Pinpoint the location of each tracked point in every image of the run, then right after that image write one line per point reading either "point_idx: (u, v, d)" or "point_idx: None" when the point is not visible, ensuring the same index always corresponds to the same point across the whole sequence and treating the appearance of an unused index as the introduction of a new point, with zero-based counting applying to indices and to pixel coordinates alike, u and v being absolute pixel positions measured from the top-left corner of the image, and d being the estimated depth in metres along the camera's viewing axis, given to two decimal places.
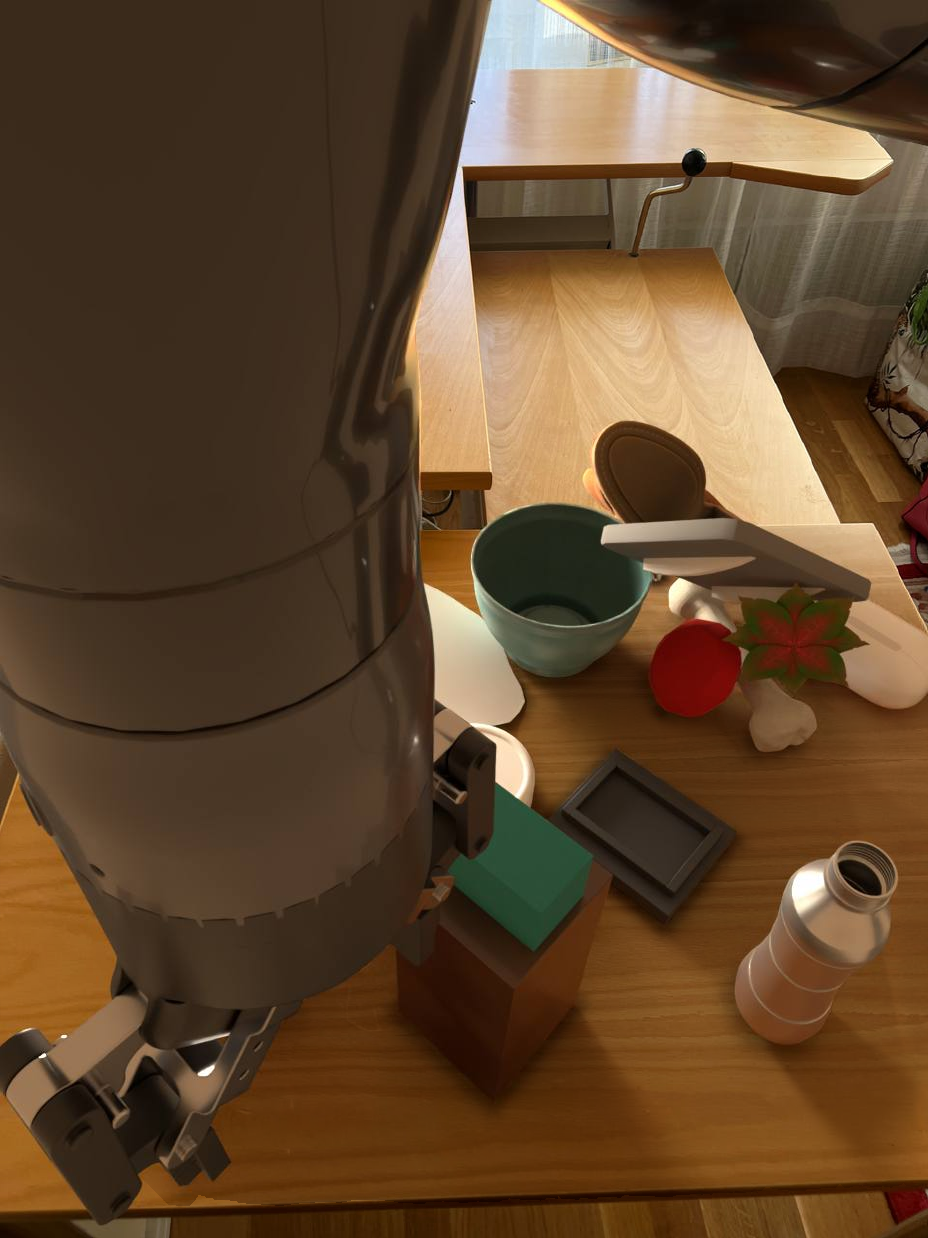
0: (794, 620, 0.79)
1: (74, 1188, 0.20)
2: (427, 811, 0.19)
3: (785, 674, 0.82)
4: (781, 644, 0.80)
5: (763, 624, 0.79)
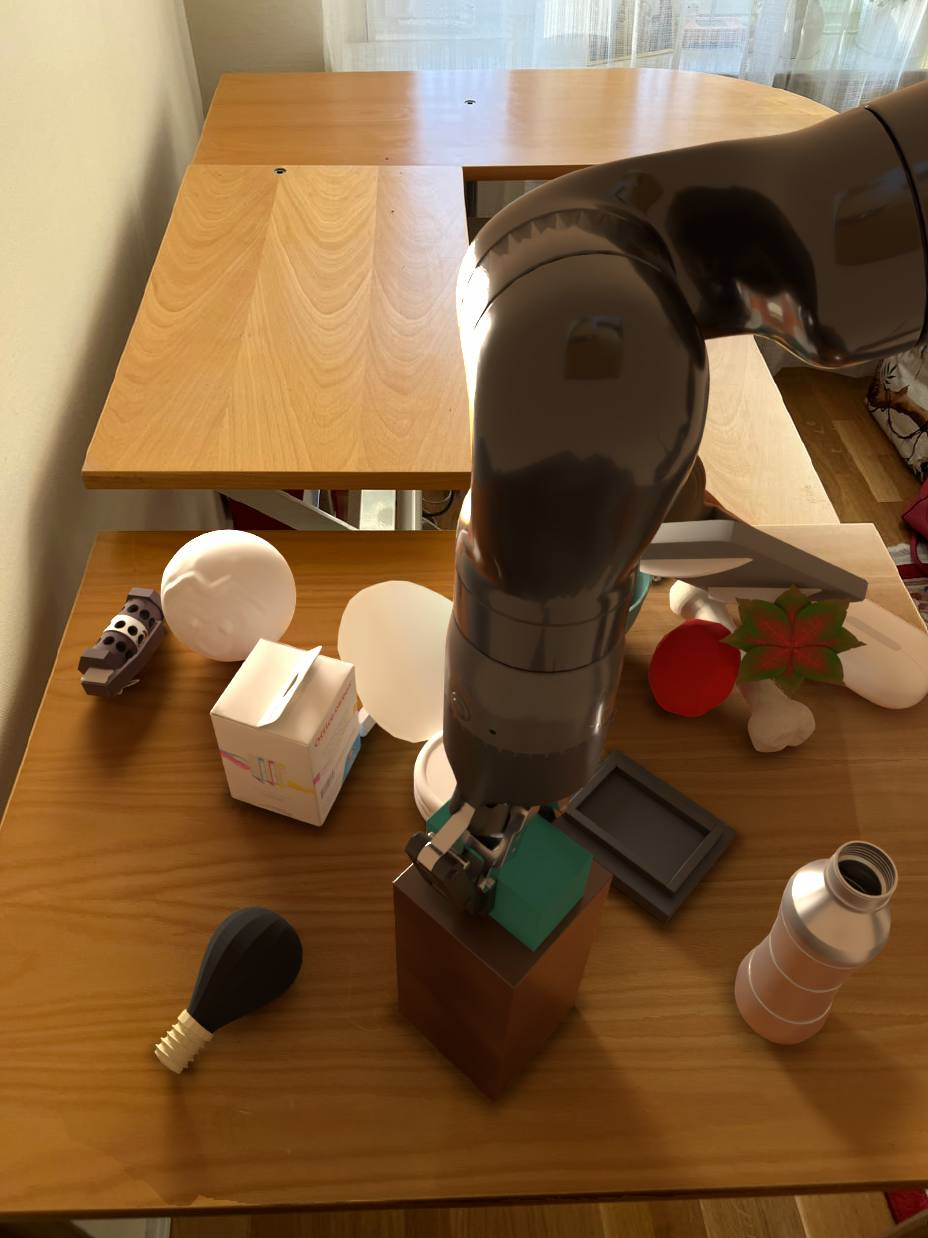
0: (791, 621, 0.78)
1: (451, 895, 0.45)
2: None
3: (782, 675, 0.82)
4: (778, 645, 0.80)
5: (760, 625, 0.79)
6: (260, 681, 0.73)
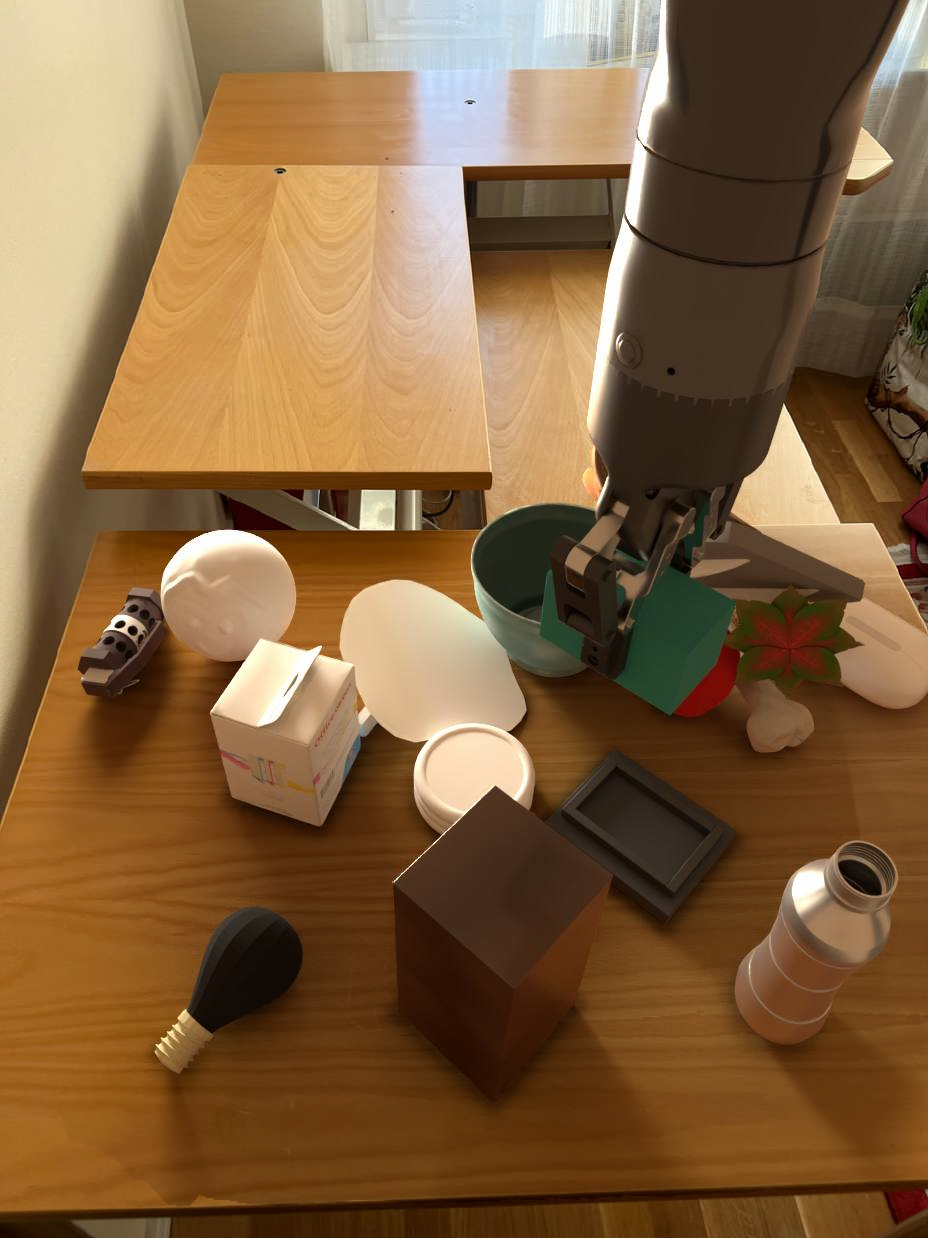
0: (789, 621, 0.78)
1: (600, 612, 0.40)
2: None
3: (780, 675, 0.82)
4: (776, 646, 0.80)
5: (757, 626, 0.79)
6: (260, 681, 0.73)
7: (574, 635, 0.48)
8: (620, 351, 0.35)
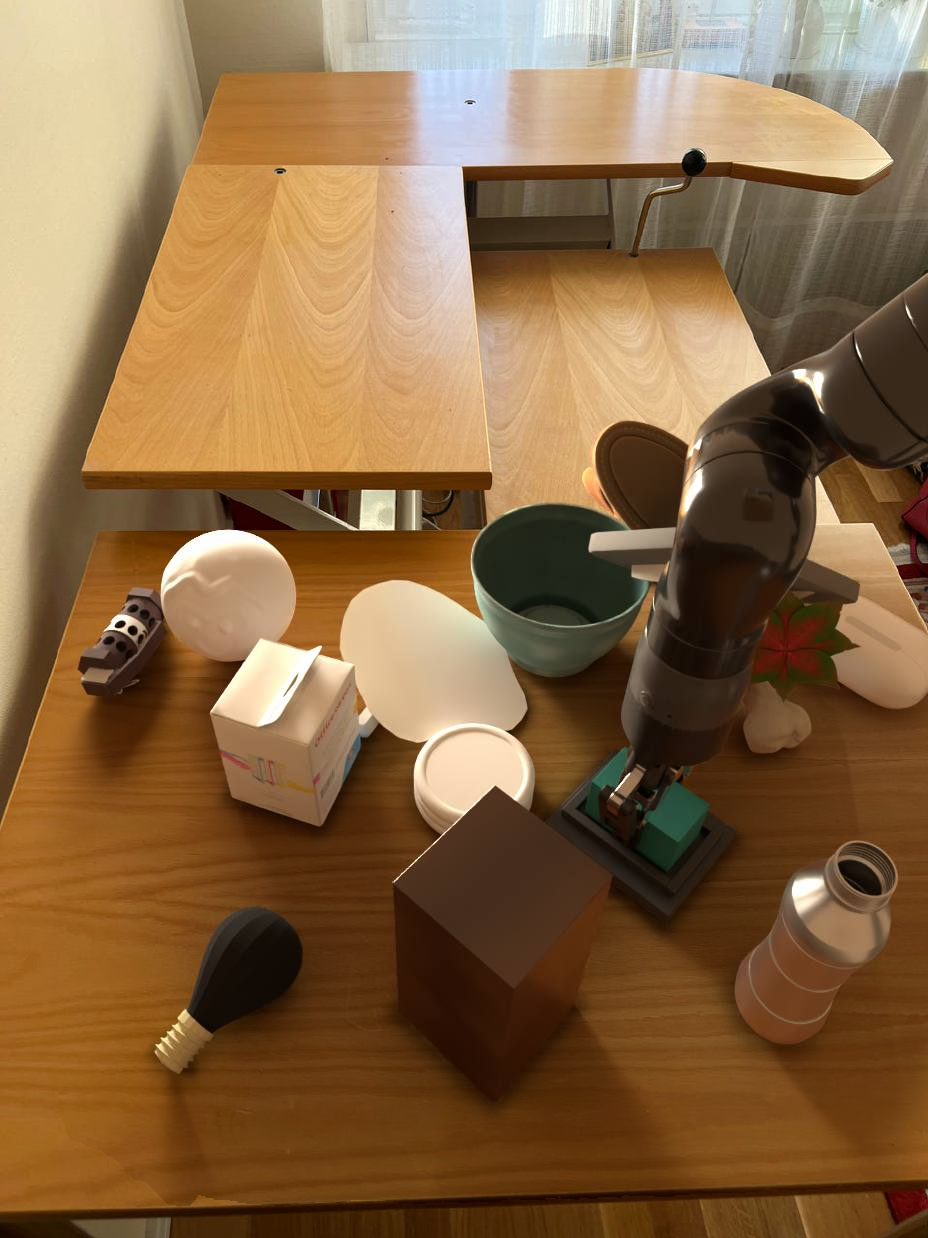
0: (785, 624, 0.78)
1: (626, 827, 0.67)
2: None
3: (776, 678, 0.82)
4: (772, 648, 0.79)
5: None
6: (260, 681, 0.73)
7: None
8: (642, 700, 0.62)
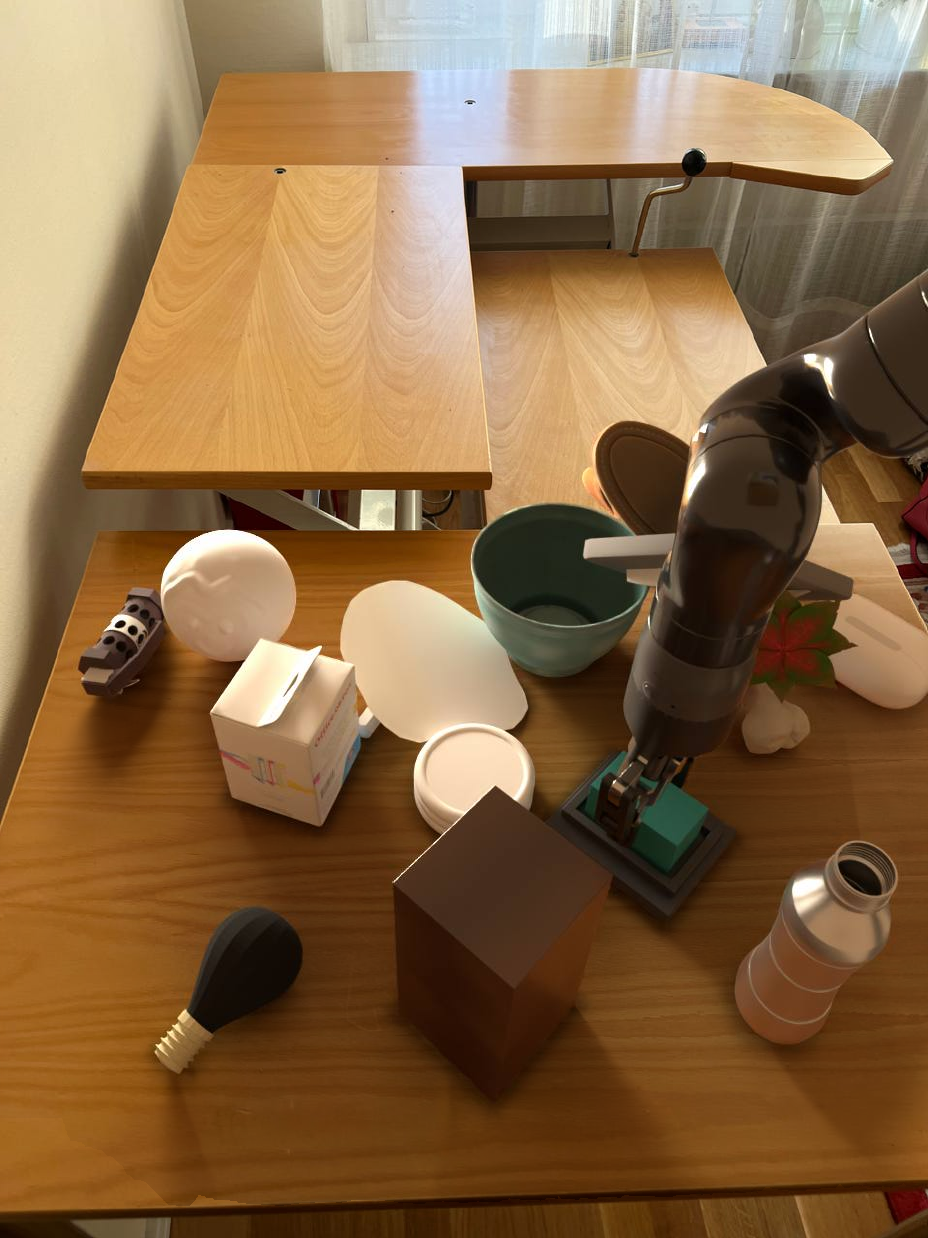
0: (782, 624, 0.78)
1: (625, 819, 0.66)
2: None
3: (774, 679, 0.81)
4: (770, 649, 0.79)
5: None
6: (260, 681, 0.73)
7: None
8: (644, 690, 0.61)
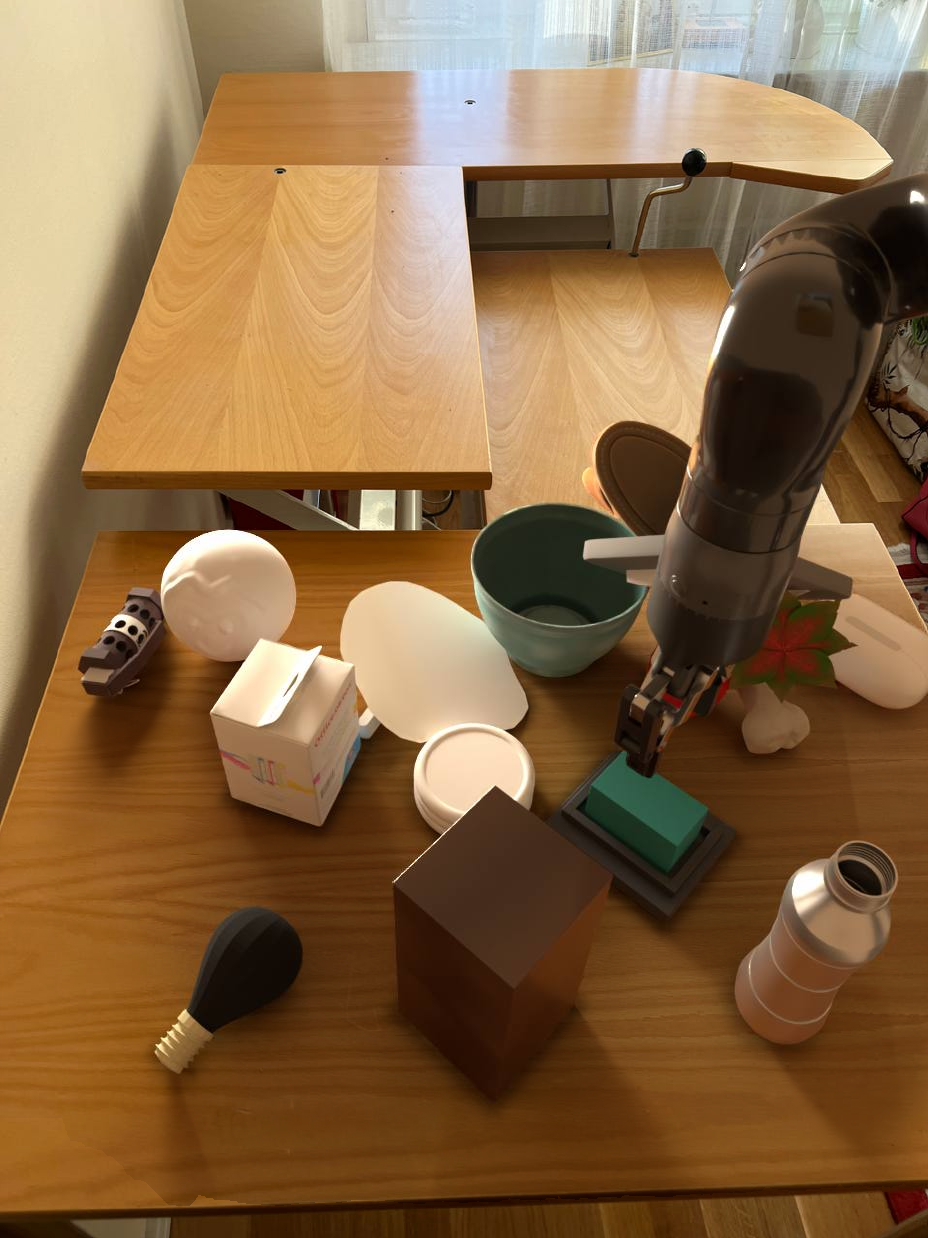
0: (782, 624, 0.78)
1: (649, 738, 0.59)
2: None
3: (774, 679, 0.82)
4: (770, 649, 0.79)
5: None
6: (260, 681, 0.73)
7: (607, 821, 0.76)
8: (672, 586, 0.55)
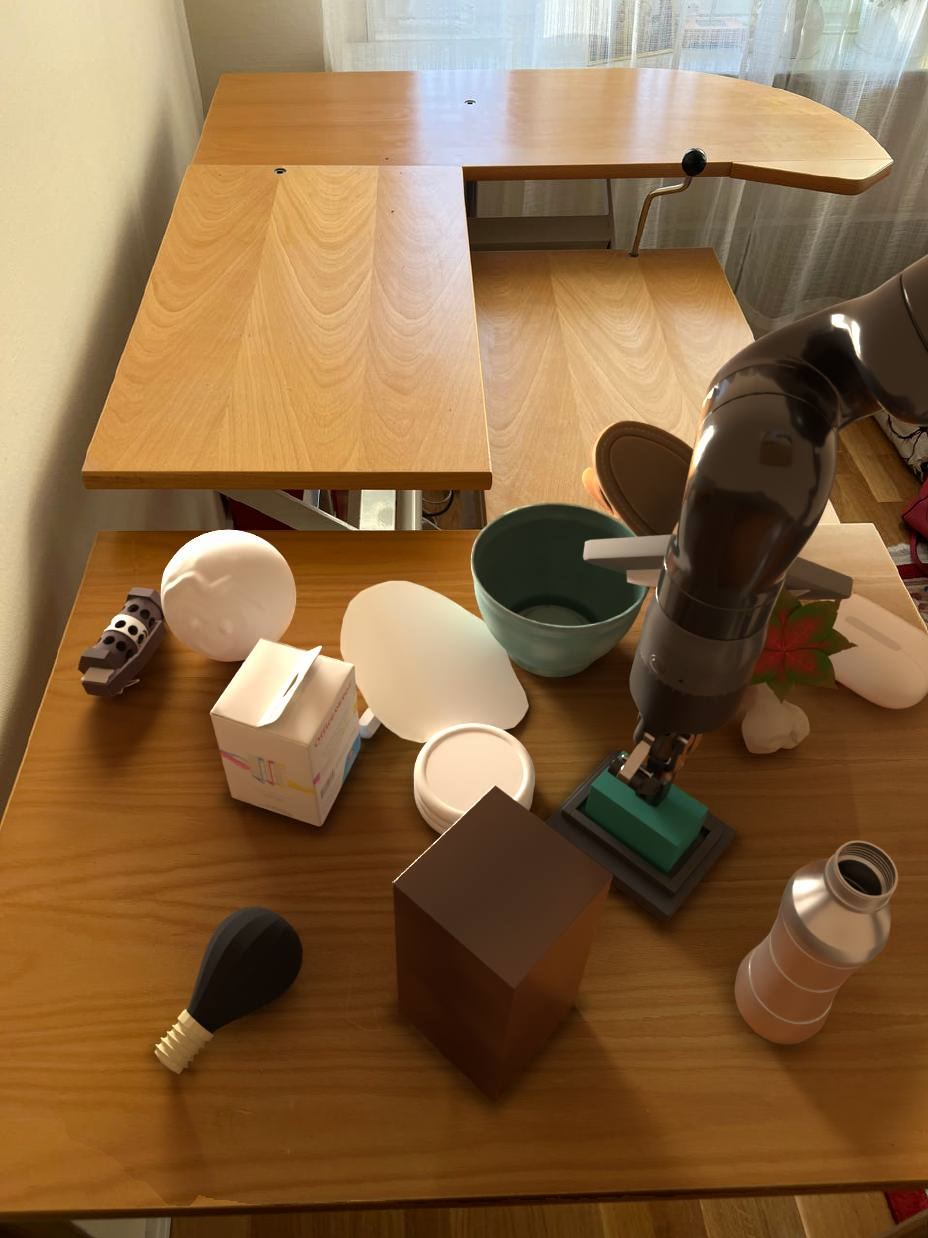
0: (782, 624, 0.78)
1: (643, 793, 0.66)
2: None
3: (774, 679, 0.81)
4: (770, 649, 0.79)
5: None
6: (260, 681, 0.73)
7: (607, 821, 0.76)
8: (651, 664, 0.60)
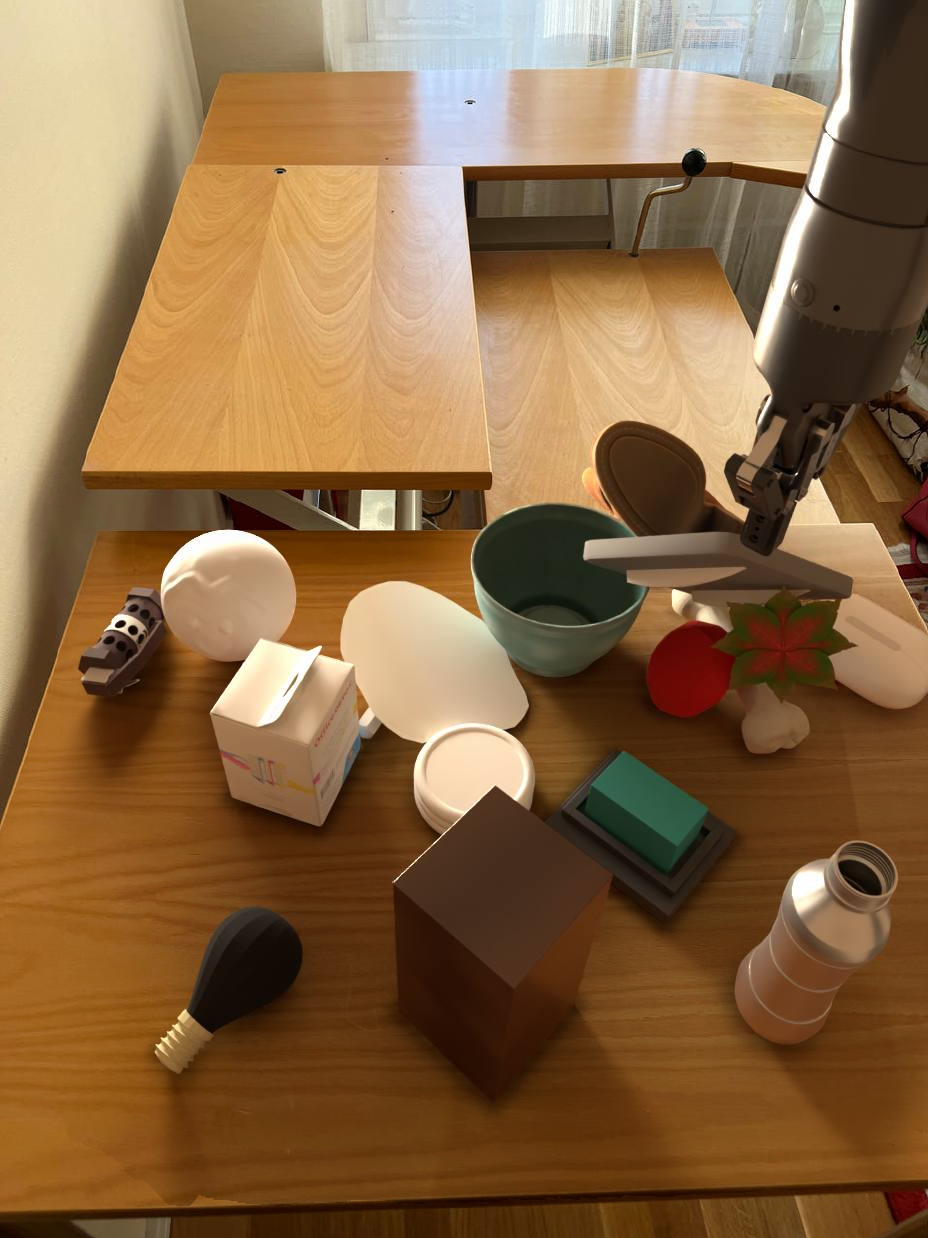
0: (782, 624, 0.78)
1: (767, 504, 0.52)
2: None
3: (774, 679, 0.81)
4: (770, 649, 0.79)
5: (751, 629, 0.79)
6: (260, 681, 0.73)
7: (607, 821, 0.76)
8: (795, 293, 0.46)
